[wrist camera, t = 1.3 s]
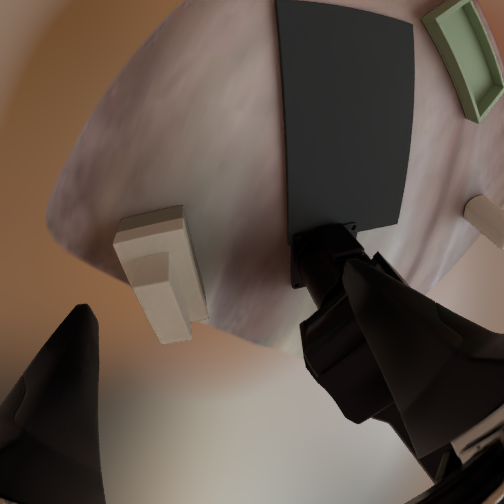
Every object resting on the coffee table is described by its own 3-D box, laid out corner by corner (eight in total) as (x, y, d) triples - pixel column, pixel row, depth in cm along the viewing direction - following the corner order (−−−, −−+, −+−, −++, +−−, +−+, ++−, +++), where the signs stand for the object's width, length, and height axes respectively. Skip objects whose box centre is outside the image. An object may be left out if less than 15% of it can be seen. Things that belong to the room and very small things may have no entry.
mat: (395, 221, 26) (397, 223, 26) (287, 243, 25) (288, 246, 24) (409, 24, 14) (412, 24, 14) (274, 0, 12) (276, -1, 12)
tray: (494, 85, 18) (506, 89, 16) (466, 118, 20) (479, 124, 19) (455, -6, 11) (468, -6, 10) (420, 18, 14) (435, 18, 12)
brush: (204, 290, 26) (213, 347, 21) (153, 300, 25) (152, 358, 20) (182, 204, 20) (184, 256, 15) (120, 218, 20) (103, 273, 14)
